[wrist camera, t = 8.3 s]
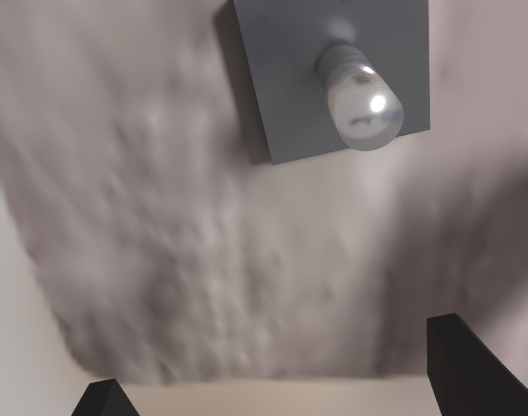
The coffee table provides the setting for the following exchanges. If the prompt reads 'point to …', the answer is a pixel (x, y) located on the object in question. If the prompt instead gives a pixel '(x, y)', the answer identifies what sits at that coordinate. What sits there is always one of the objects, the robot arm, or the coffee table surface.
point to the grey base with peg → (337, 72)
